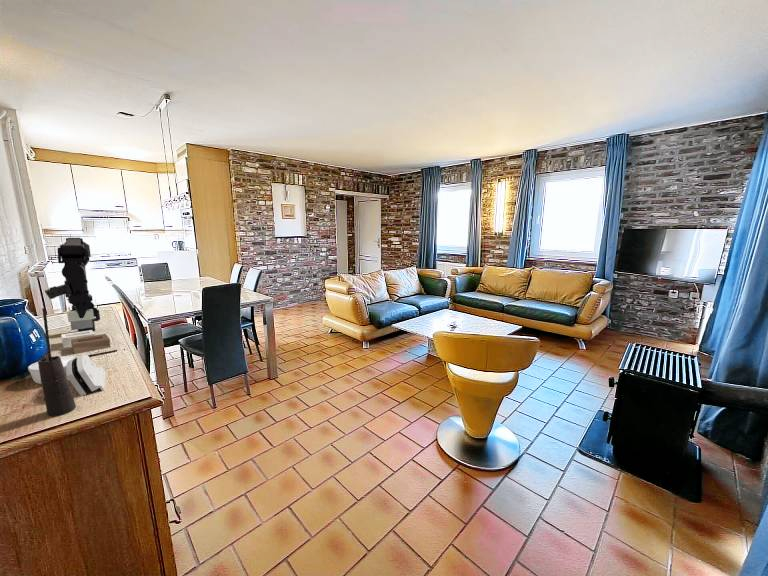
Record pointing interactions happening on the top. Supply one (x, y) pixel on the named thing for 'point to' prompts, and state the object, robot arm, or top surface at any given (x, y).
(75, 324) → the pale grey block
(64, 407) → the butter churn
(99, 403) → the top surface
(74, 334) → the holder
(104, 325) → the top surface
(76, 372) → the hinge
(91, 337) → the channel mount plate
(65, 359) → the ramekin
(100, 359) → the top surface
